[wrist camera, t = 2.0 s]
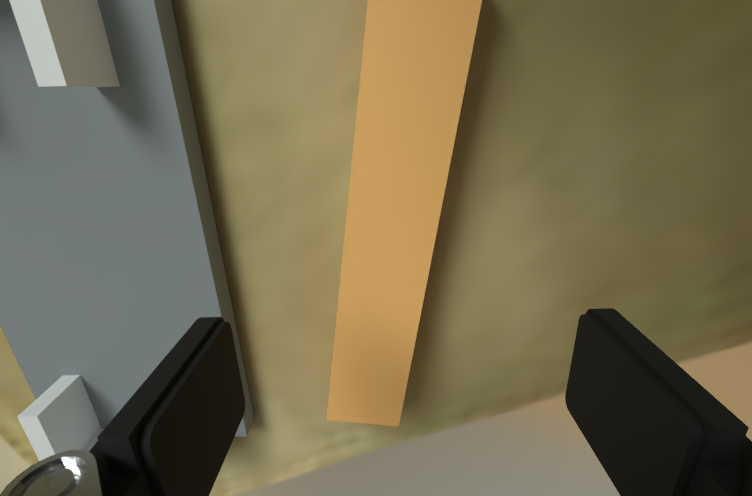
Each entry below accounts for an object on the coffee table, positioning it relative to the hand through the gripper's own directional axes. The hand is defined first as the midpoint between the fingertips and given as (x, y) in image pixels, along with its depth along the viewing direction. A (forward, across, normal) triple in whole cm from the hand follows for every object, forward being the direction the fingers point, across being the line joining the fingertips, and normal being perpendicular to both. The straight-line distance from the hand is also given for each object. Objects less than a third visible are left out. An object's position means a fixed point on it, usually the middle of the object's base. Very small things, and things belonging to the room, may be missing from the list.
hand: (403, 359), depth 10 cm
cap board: (+10, +15, 0) cm, 18 cm away
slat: (+11, 0, -1) cm, 11 cm away
